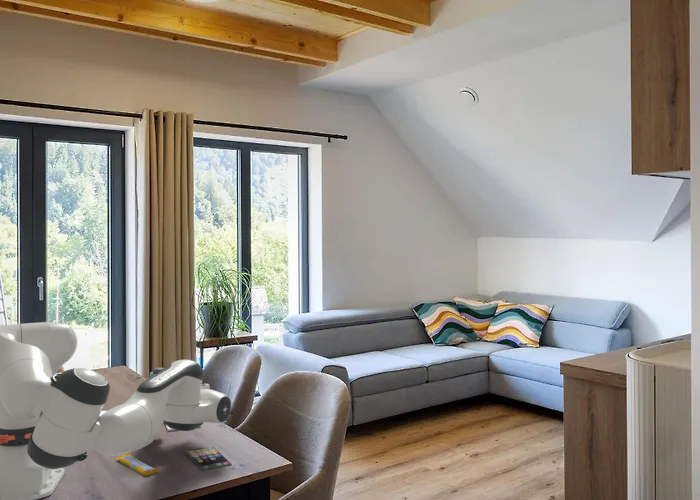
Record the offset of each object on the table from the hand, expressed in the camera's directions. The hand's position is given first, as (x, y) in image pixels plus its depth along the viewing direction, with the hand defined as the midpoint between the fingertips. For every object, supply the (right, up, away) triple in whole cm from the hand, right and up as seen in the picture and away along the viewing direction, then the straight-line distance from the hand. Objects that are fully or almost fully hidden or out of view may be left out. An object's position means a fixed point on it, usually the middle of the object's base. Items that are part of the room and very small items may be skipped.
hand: (157, 393), depth 193 cm
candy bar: (+2, -14, -25) cm, 29 cm away
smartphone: (+20, -14, -20) cm, 31 cm away
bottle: (+1, -8, 0) cm, 8 cm away
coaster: (+5, -13, +11) cm, 17 cm away
